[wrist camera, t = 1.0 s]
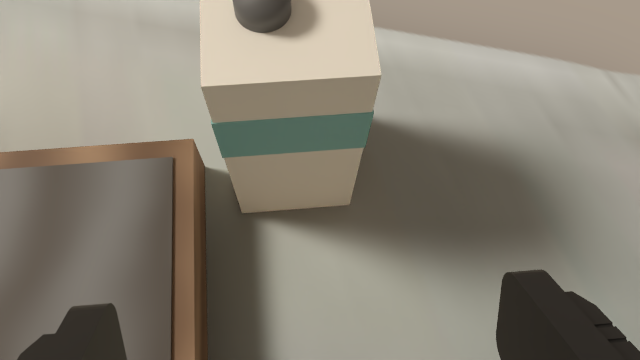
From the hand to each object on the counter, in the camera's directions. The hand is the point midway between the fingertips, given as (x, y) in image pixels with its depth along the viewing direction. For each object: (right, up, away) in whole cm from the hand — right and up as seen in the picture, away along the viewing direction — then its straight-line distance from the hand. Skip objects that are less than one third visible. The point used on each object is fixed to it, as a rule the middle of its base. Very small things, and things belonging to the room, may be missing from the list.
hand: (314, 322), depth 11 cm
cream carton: (-2, +4, +20) cm, 20 cm away
